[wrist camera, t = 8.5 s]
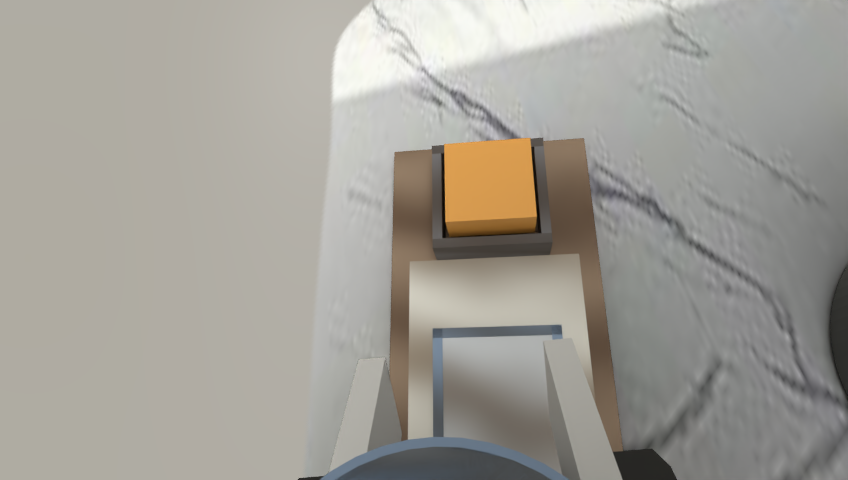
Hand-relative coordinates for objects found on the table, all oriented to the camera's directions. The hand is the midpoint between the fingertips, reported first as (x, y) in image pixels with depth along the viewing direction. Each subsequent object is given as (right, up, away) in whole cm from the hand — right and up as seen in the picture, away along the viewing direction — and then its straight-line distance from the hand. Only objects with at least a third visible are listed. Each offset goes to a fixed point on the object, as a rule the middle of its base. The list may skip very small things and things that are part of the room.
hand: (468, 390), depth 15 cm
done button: (+2, +6, +14) cm, 15 cm away
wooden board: (+3, -1, +14) cm, 14 cm away
